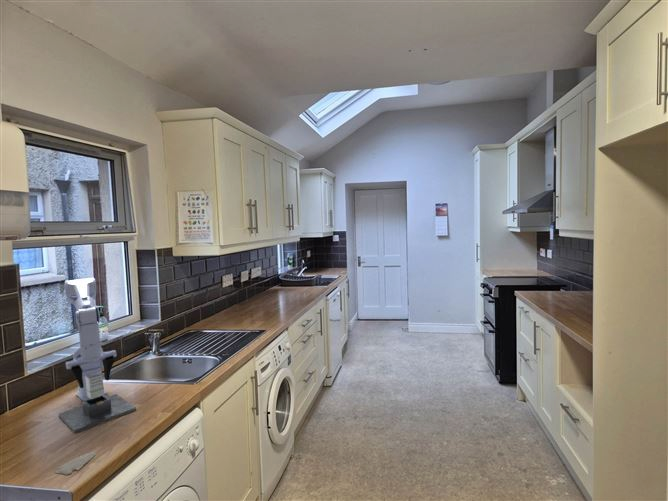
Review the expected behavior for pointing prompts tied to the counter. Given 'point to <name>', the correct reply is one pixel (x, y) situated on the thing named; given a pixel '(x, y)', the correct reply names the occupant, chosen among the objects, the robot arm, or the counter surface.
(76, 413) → the stand base
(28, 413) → the counter surface
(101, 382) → the column
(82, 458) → the arrowhead
